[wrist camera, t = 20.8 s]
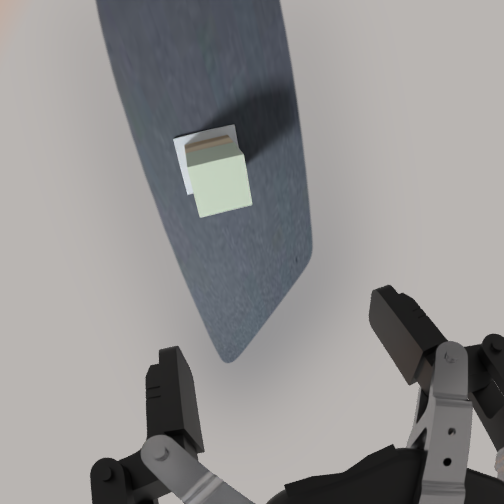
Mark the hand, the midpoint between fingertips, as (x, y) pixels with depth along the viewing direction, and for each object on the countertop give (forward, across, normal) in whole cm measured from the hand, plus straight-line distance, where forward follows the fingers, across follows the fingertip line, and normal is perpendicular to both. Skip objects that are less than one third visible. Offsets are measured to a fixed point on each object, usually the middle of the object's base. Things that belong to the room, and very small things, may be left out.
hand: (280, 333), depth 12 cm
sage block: (+24, 0, +1) cm, 24 cm away
